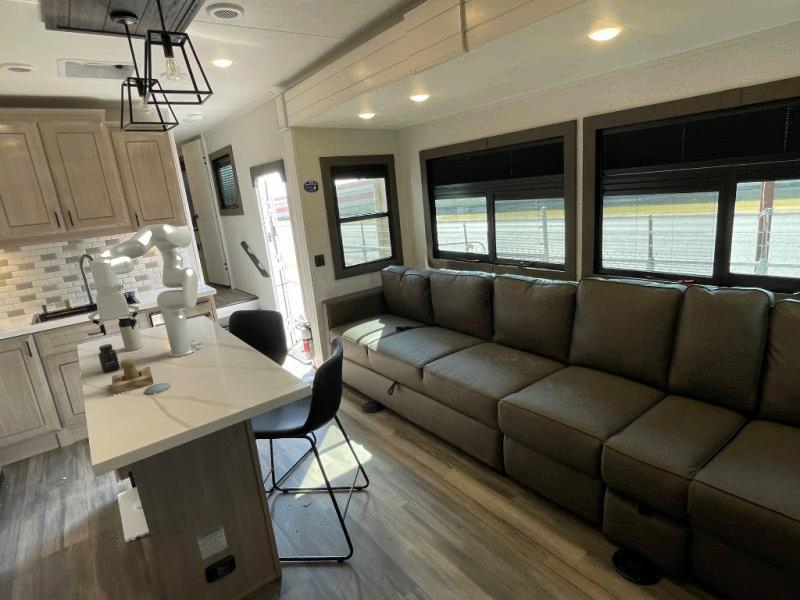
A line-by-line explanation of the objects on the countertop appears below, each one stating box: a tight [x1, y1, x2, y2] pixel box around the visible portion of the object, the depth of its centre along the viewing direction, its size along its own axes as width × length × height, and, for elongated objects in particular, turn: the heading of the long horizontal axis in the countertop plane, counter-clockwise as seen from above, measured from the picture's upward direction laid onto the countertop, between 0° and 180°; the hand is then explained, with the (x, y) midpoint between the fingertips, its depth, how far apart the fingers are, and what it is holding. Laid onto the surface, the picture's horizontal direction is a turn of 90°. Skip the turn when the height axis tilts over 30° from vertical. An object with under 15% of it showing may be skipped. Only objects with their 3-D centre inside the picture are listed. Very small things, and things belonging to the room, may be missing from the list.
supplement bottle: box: [98, 343, 121, 374], centre depth 195 cm, size 7×7×12 cm
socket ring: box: [111, 365, 155, 395], centre depth 178 cm, size 14×14×4 cm
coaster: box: [144, 382, 171, 395], centre depth 171 cm, size 9×9×1 cm
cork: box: [120, 357, 140, 381], centre depth 177 cm, size 6×6×11 cm
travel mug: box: [117, 313, 144, 352], centre depth 222 cm, size 8×8×18 cm
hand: (119, 331), depth 172 cm, fingers open, 9 cm apart
